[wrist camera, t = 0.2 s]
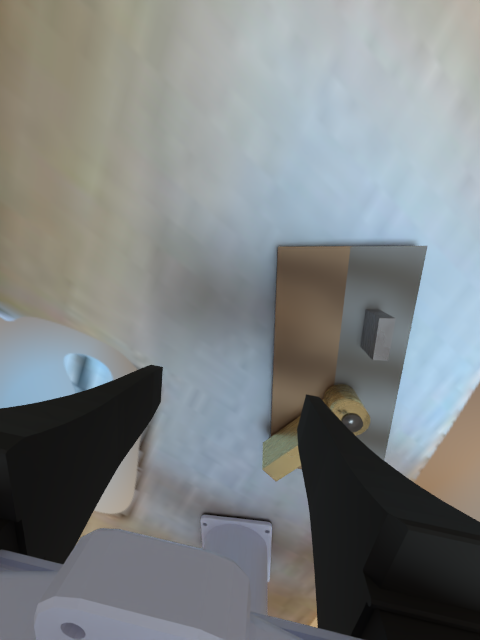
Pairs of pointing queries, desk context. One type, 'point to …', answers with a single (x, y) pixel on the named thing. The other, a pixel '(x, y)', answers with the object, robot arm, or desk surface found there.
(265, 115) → the desk surface
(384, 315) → the block
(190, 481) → the desk surface
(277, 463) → the lock bar
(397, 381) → the board
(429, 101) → the desk surface
